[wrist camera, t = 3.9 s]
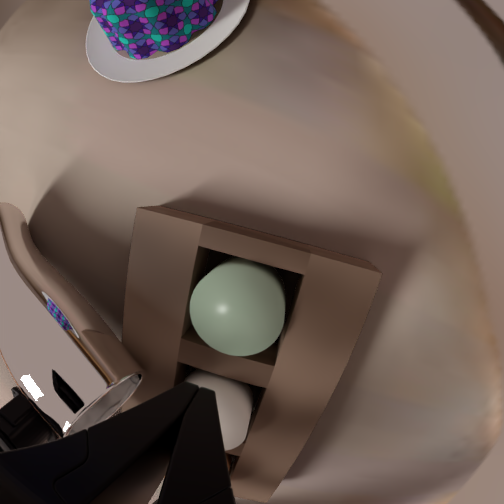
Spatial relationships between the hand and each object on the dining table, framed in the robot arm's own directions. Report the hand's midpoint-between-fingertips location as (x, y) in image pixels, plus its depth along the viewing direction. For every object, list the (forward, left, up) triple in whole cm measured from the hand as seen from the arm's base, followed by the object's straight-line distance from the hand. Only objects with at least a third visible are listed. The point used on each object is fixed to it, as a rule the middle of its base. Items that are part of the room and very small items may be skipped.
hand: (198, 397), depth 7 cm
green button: (0, 0, -9) cm, 9 cm away
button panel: (-7, 0, -9) cm, 11 cm away
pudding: (+16, +10, -10) cm, 22 cm away
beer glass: (-1, +19, -6) cm, 20 cm away
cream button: (-7, 0, -8) cm, 10 cm away
